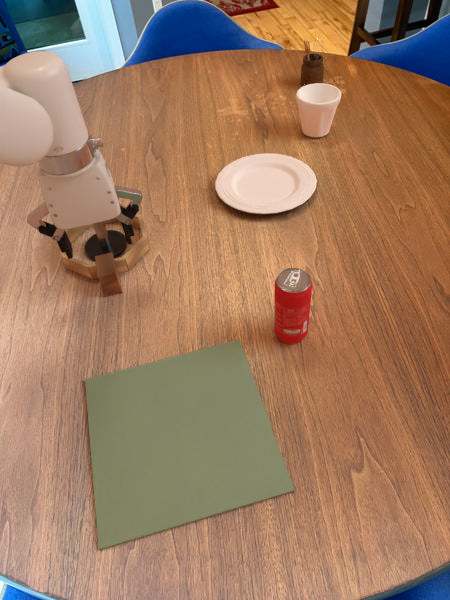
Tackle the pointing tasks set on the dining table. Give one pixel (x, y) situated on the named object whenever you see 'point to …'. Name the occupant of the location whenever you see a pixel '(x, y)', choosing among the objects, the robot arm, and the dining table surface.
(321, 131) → the cup
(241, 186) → the plate
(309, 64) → the utensil holder
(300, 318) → the beverage can
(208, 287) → the dining table surface
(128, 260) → the hoop
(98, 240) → the post stand
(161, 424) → the mat
